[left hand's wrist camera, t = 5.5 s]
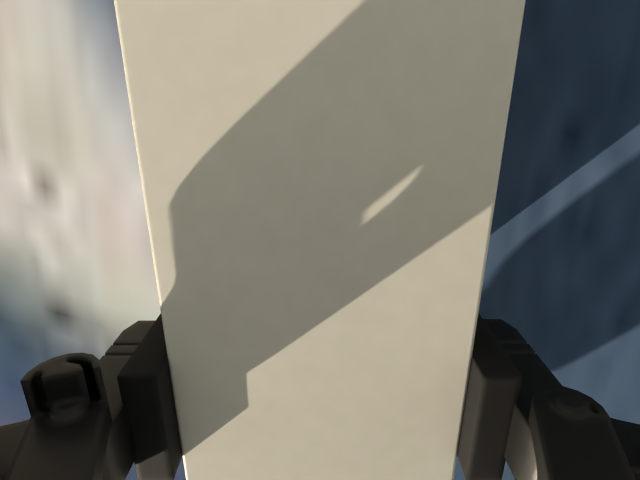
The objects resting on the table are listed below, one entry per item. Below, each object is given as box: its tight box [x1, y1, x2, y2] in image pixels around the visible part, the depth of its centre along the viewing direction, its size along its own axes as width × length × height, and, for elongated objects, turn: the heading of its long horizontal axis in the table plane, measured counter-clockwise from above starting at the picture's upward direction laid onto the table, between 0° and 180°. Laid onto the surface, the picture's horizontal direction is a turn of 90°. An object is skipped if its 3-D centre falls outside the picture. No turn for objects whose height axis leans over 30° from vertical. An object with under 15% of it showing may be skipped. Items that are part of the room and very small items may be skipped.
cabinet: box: [114, 0, 525, 480], centre depth 13 cm, size 16×6×11 cm, turn 0°
